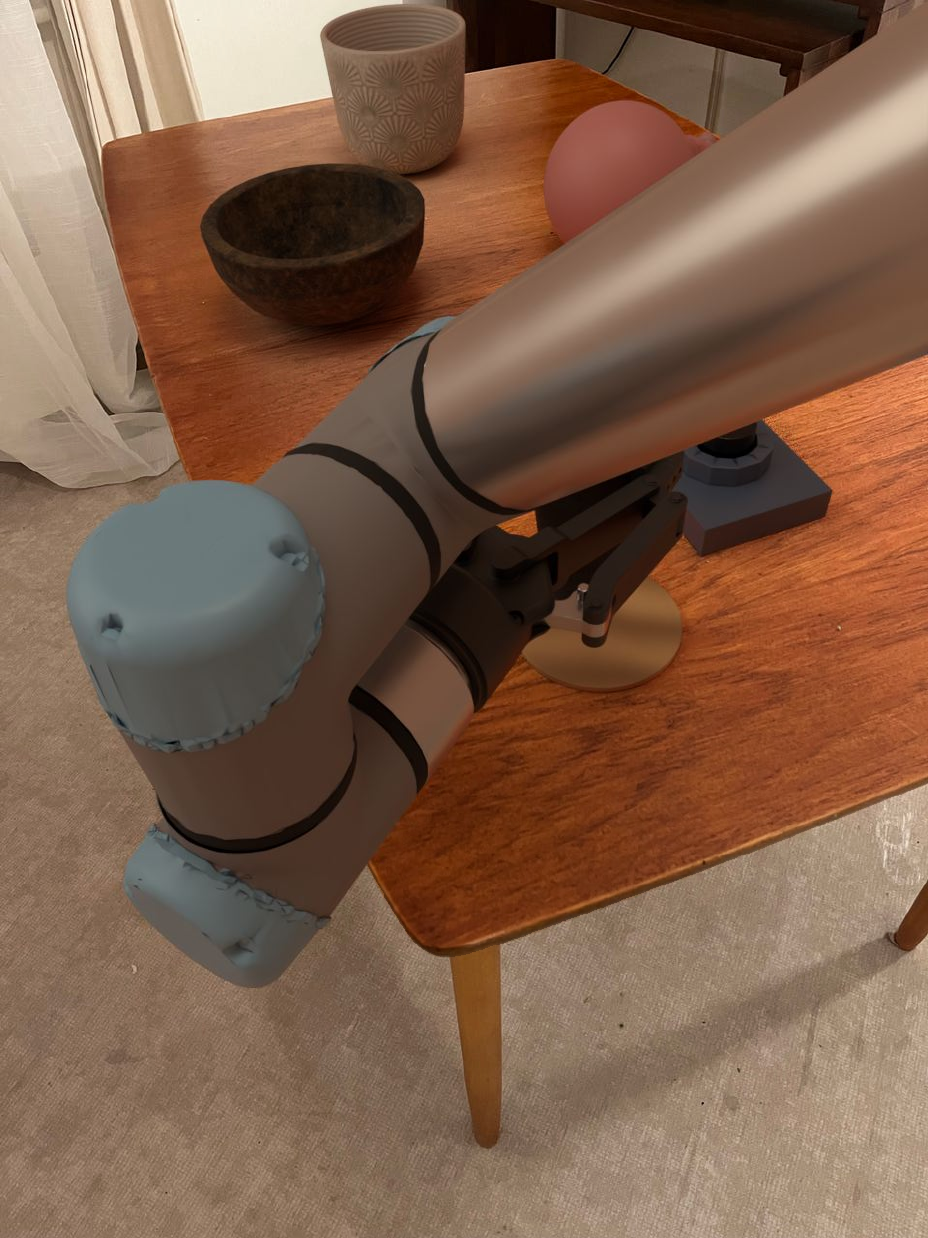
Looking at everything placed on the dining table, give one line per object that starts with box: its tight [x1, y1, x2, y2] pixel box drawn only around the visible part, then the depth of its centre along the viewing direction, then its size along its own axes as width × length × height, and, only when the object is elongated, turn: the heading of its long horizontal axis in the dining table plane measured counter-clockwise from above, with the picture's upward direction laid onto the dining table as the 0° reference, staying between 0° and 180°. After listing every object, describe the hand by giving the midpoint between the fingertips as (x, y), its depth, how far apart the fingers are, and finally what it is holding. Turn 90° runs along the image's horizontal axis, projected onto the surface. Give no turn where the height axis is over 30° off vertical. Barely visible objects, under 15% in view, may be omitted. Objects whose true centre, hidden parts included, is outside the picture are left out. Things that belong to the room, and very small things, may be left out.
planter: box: [319, 3, 467, 175], centre depth 119 cm, size 17×17×15 cm
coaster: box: [520, 576, 684, 693], centre depth 70 cm, size 12×12×1 cm
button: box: [697, 422, 757, 459], centre depth 76 cm, size 4×4×2 cm
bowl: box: [199, 162, 426, 327], centre depth 98 cm, size 22×22×10 cm
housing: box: [671, 419, 833, 557], centre depth 78 cm, size 14×11×4 cm
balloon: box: [543, 99, 718, 244], centre depth 100 cm, size 15×20×15 cm
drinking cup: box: [534, 471, 632, 600], centre depth 56 cm, size 8×8×20 cm
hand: (626, 404), depth 58 cm, fingers closed on drinking cup, 7 cm apart
